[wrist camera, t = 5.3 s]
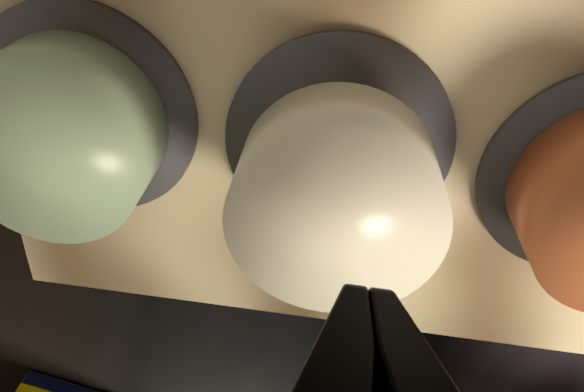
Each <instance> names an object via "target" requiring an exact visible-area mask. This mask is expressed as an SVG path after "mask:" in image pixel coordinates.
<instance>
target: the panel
mask: <svg viewBox="0 0 584 392" xmlns="http://www.w3.org/2000/svg"><path fill="white" fill-rule="evenodd" d="M54 29H57V30H70V31H75V32H80V33H84V34H87V35H90V36H93V37H95V38H97V39H100V40H102V41H104V42H106V43H108V44H110V45H111V46H113V47H115V48H116V49H118V50H119V51H121V52H122V53H123V54H125V55H126V56H127V57H129V58H130V59H131V60H132V61H133V62H134V63H135V64H136V65H137V66H138V67H139V68H140V69H141V70H142V71H143V72H144V73H145V75H146V76H147V77H148V78H149V80H150V81H151V83H152V84H153V86H154V87H155V89H156V91H157V92H158V94H159V96H160V98H161V101H162V103H163V106H164V108H165V112H166V115H167V119H168V127H169V141H168V147H167V151H166V154H165V157H164V159H163V161H162V163H161V165H160V167H159V168H158V170H157V172H156V173H155V175H154V177H153V178H152V180H151V181H150V183H149V185H148V186H147V188H146V190H145V191H144V193H143V195H142V196H141V198H140V200H139V201H138V203H137V205H136V206H135V208H134V209H133V211H132V213H131V214H130V216H129V217H128V219H127V220H126V221H125V222H124V224H123V225H121V226H120V227H119V228H118V229H117V230H116V231H114V232H112V233H111V234H109V235H108V236H105V237H103V238H101V239H98V240H94V241H91V242H86V243H79V244H61V243H52V242H47V241H42V240H38V239H35V238H31V237H28V236H25V235H23V234H21V237H22V240H23V244H24V248H25V251H26V255H27V259H28V262H29V266H30V270H31V274H32V277H33V280H38V281H46V282H53V283H61V284H68V285H75V286H83V287H90V288H98V289H105V290H112V291H120V292H127V293H135V294H142V295H149V296H157V297H164V298H172V299H179V300H186V301H194V302H201V303H209V304H216V305H223V306H231V307H238V308H246V309H253V310H260V311H268V312H275V313H283V314H290V315H297V316H305V317H312V318H320V319H327V317H328V315H329V313H328V312H319V311H313V310H308V309H304V308H301V307H297V306H294V305H291V304H289V303H286V302H284V301H282V300H280V299H278V298H276V297H274V296H272V295H270V294H269V293H267V292H265V291H264V290H262V289H261V288H260V287H258V286H257V285H256V284H255V283H253V282H252V281H251V280H250V279H249V278H248V277H247V276H246V275H245V274H244V273H243V272H242V270H241V269H240V268H239V266H238V265H237V264H236V262H235V261H234V259H233V257H232V255H231V254H230V251H229V249H228V246H227V244H226V241H225V237H224V232H223V222H222V216H223V206H224V203H225V199H226V195H227V192H228V190H229V187H230V184H231V181H232V178H233V176H234V173H235V170H236V167H237V164H238V162H239V159H240V156H241V153H242V150H243V148H244V145H245V142H246V139H247V137H248V135H249V133H250V131H251V129H252V127H253V126H254V124H255V122H256V121H257V119H258V118H259V117H260V116H261V115H262V114H263V113H264V111H265V110H266V109H268V108H269V107H270V106H271V105H272V104H273V103H274V102H276V101H277V100H279V99H281V98H282V97H284V96H285V95H287V94H289V93H291V92H293V91H295V90H298V89H301V88H304V87H307V86H310V85H314V84H320V83H326V82H352V83H358V84H363V85H367V86H371V87H374V88H377V89H380V90H382V91H384V92H386V93H388V94H390V95H392V96H394V97H395V98H397V99H398V100H400V101H401V102H403V103H404V104H405V105H406V106H408V107H409V108H410V109H411V110H412V111H413V112H414V113H415V114H416V115H417V117H418V118H419V119H420V120H421V121H422V123H423V125H424V126H425V128H426V129H427V131H428V133H429V136H430V138H431V140H432V143H433V146H434V150H435V153H436V156H437V160H438V163H439V167H440V170H441V174H442V177H443V180H444V184H445V187H446V191H447V194H448V197H449V201H450V205H451V209H452V216H453V231H452V238H451V242H450V246H449V249H448V251H447V254H446V256H445V258H444V260H443V262H442V263H441V265H440V266H439V268H438V269H437V271H436V272H435V273H434V274H433V275H432V276H431V278H430V279H429V280H427V281H426V282H425V283H424V284H423V285H422V286H421V287H420V288H418V289H417V290H415V291H414V292H412V293H411V294H409V295H408V296H406V297H404V298H402V299H400V301H401V303H402V304H403V306H404V307H405V309H406V310H407V312H408V313H409V315H410V316H411V318H412V319H413V321H414V322H415V324H416V325H417V327H418V328H419V330H420V331H421V332H423V333H431V334H438V335H445V336H453V337H460V338H468V339H475V340H482V341H490V342H497V343H505V344H512V345H519V346H527V347H534V348H542V349H549V350H556V351H564V352H571V353H579V354H584V312H581V311H578V310H575V309H572V308H570V307H567V306H565V305H563V304H562V303H560V302H558V301H556V300H555V299H554V298H552V297H551V296H550V295H549V294H547V292H546V291H545V290H544V289H543V288H542V287H541V286H540V284H539V282H538V281H537V279H536V277H535V275H534V273H533V270H532V268H531V266H530V264H529V261H528V259H527V257H526V255H525V252H524V250H523V248H522V246H521V243H520V241H519V239H518V237H517V234H516V232H515V230H514V228H513V225H512V223H511V221H510V218H509V216H508V213H507V210H506V205H505V189H506V183H507V180H508V177H509V173H510V171H511V169H512V167H513V165H514V163H515V161H516V160H517V158H518V157H519V155H520V154H521V152H522V151H523V150H524V149H525V148H526V146H527V145H528V144H529V143H530V142H531V141H532V140H533V139H534V138H535V137H536V136H537V135H538V134H540V133H541V132H542V131H544V130H545V129H546V128H547V127H549V126H550V125H552V124H553V123H555V122H557V121H558V120H560V119H562V118H564V117H566V116H568V115H570V114H572V113H574V112H576V111H579V110H581V109H584V0H0V50H1V49H2V48H4V47H6V46H8V45H10V44H11V43H13V42H15V41H17V40H19V39H20V38H22V37H24V36H27V35H29V34H31V33H35V32H39V31H43V30H54Z"/></svg>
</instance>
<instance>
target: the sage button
mask: <svg viewBox="0 0 584 392" xmlns="http://www.w3.org/2000/svg"><path fill="white" fill-rule="evenodd" d="M168 141H169V127H168V119H167V115H166V112H165V108H164V106H163V103H162V101H161V98H160V96H159V94H158V92H157V91H156V89H155V87H154V86H153V84H152V83H151V81H150V80H149V78H148V77H147V76H146V75H145V73H144V72H143V71H142V70H141V69H140V68H139V67H138V66H137V65H136V64H135V63H134V62H133V61H132V60H131V59H130V58H129V57H127V56H126V55H125V54H123V53H122V52H121V51H119V50H118V49H116V48H115V47H113V46H111V45H110V44H108V43H106V42H104V41H102V40H100V39H97V38H95V37H93V36H90V35H87V34H84V33H80V32H75V31H70V30H57V29H54V30H43V31H39V32H35V33H31V34H29V35H27V36H24V37H22V38H20V39H19V40H17V41H15V42H13V43H11V44H10V45H8V46H6V47H4V48H2V49H1V50H0V224H2V225H4V226H5V227H7V228H9V229H11V230H13V231H16V232H18V233H20V234H23V235H25V236H28V237H31V238H35V239H38V240H42V241H47V242H52V243H61V244H79V243H86V242H91V241H94V240H98V239H101V238H103V237H105V236H108V235H109V234H111V233H112V232H114V231H116V230H117V229H118V228H119V227H120V226H121V225H123V224H124V222H125V221H126V220H127V219H128V217H129V216H130V214H131V213H132V211H133V209H134V208H135V206H136V205H137V203H138V201H139V200H140V198H141V196H142V195H143V193H144V191H145V190H146V188H147V186H148V185H149V183H150V181H151V180H152V178H153V177H154V175H155V173H156V172H157V170H158V168H159V167H160V165H161V163H162V161H163V159H164V157H165V154H166V151H167V147H168Z"/></svg>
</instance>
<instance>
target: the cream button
mask: <svg viewBox="0 0 584 392" xmlns="http://www.w3.org/2000/svg"><path fill="white" fill-rule="evenodd" d="M222 222H223V232H224V237H225V241H226V244H227V246H228V249H229V251H230V254H231V255H232V257H233V259H234V261H235V262H236V264H237V265H238V266H239V268H240V269H241V270H242V272H243V273H244V274H245V275H246V276H247V277H248V278H249V279H250V280H251V281H252V282H253V283H255V284H256V285H257V286H258V287H260V288H261V289H262V290H264V291H265V292H267V293H269V294H270V295H272V296H274V297H276V298H278V299H280V300H282V301H284V302H286V303H289V304H291V305H294V306H297V307H301V308H304V309H308V310H313V311H319V312H328V313H330V311H331V309H332V307H333V305H334V303H335V301H336V299H337V297H338V295H339V293H340V291H341V289H342V287H343V285H344V284H354V285H362V286H366V287H367V288H368V289H369V288H371V287H376V288H383V289H390V290H392V291H394V292H395V294H396V295H397V297H398V298H399V300H400V299H402V298H404V297H406V296H408V295H409V294H411V293H412V292H414V291H415V290H417V289H418V288H420V287H421V286H422V285H423V284H424V283H425V282H426V281H427V280H429V279H430V278H431V276H432V275H433V274H434V273H435V272H436V271H437V269H438V268H439V266H440V265H441V263H442V262H443V260H444V258H445V256H446V254H447V251H448V249H449V246H450V242H451V238H452V231H453V216H452V209H451V205H450V201H449V197H448V194H447V191H446V187H445V184H444V180H443V177H442V174H441V170H440V167H439V163H438V160H437V156H436V153H435V150H434V146H433V143H432V140H431V138H430V136H429V133H428V131H427V129H426V128H425V126H424V125H423V123H422V121H421V120H420V119H419V118H418V117H417V115H416V114H415V113H414V112H413V111H412V110H411V109H410V108H409V107H408V106H406V105H405V104H404V103H403V102H401V101H400V100H398V99H397V98H395V97H394V96H392V95H390V94H388V93H386V92H384V91H382V90H380V89H377V88H374V87H371V86H367V85H363V84H358V83H352V82H326V83H320V84H314V85H310V86H307V87H304V88H301V89H298V90H295V91H293V92H291V93H289V94H287V95H285V96H284V97H282V98H281V99H279V100H277V101H276V102H274V103H273V104H272V105H271V106H270V107H269V108H268V109H266V110H265V111H264V113H263V114H262V115H261V116H260V117H259V118H258V119H257V121H256V122H255V124H254V126H253V127H252V129H251V131H250V133H249V135H248V137H247V139H246V142H245V145H244V148H243V150H242V153H241V156H240V159H239V162H238V164H237V167H236V170H235V173H234V176H233V178H232V181H231V184H230V187H229V190H228V192H227V195H226V199H225V203H224V206H223V216H222Z"/></svg>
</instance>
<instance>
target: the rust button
mask: <svg viewBox="0 0 584 392" xmlns="http://www.w3.org/2000/svg"><path fill="white" fill-rule="evenodd" d="M505 205H506V210H507V213H508V216H509V218H510V221H511V223H512V225H513V228H514V230H515V232H516V234H517V237H518V239H519V241H520V243H521V246H522V248H523V250H524V252H525V255H526V257H527V259H528V261H529V264H530V266H531V268H532V270H533V273H534V275H535V277H536V279H537V281H538V282H539V284H540V286H541V287H542V288H543V289H544V290H545V291H546V292H547V294H549V295H550V296H551V297H552V298H554V299H555V300H556V301H558V302H560V303H562V304H563V305H565V306H567V307H570V308H572V309H575V310H578V311H581V312H584V109H581V110H579V111H576V112H574V113H572V114H570V115H568V116H566V117H564V118H562V119H560V120H558V121H557V122H555V123H553V124H552V125H550V126H549V127H547V128H546V129H545V130H544V131H542V132H541V133H540V134H538V135H537V136H536V137H535V138H534V139H533V140H532V141H531V142H530V143H529V144H528V145H527V146H526V148H525V149H524V150H523V151H522V152H521V154H520V155H519V157H518V158H517V160H516V161H515V163H514V165H513V167H512V169H511V171H510V173H509V177H508V180H507V183H506V189H505Z"/></svg>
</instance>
